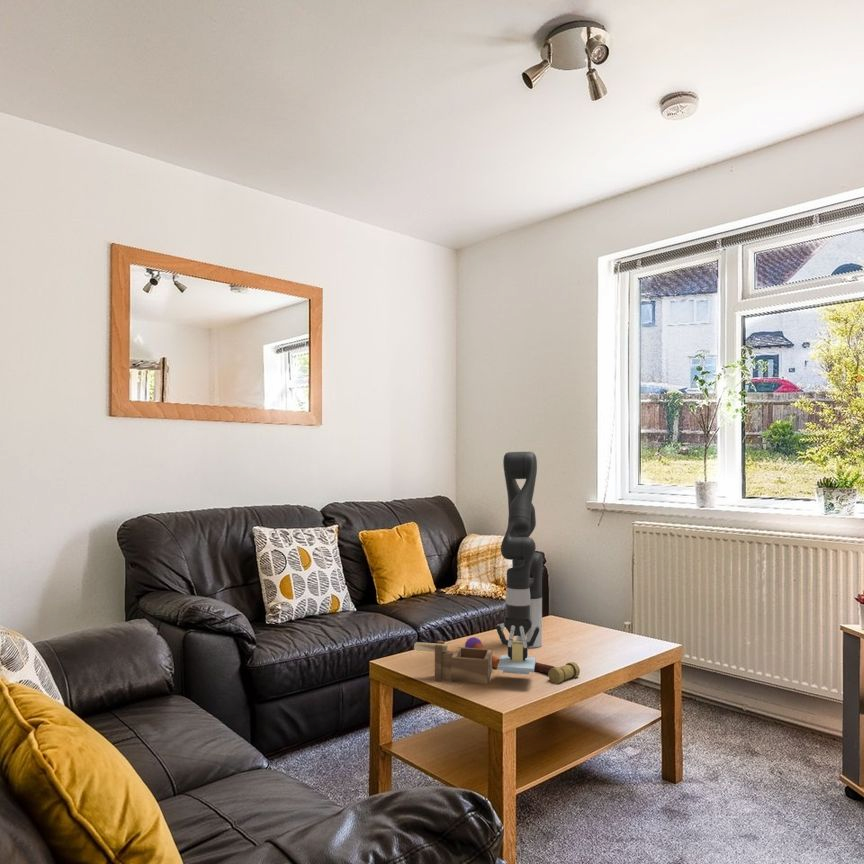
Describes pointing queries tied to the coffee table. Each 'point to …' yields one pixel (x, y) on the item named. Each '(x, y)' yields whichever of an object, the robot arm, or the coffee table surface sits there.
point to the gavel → (559, 671)
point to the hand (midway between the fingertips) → (517, 658)
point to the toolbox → (463, 664)
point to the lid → (517, 661)
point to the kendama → (477, 643)
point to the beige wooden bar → (429, 646)
